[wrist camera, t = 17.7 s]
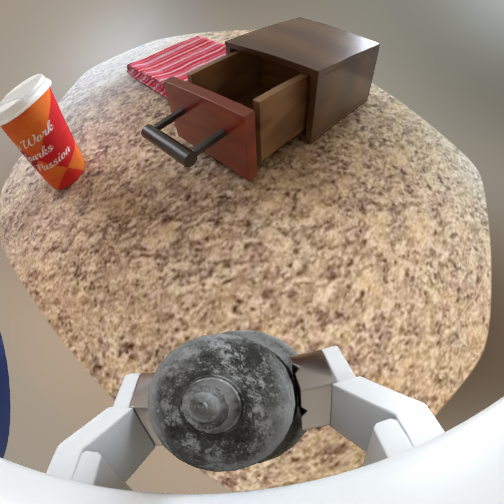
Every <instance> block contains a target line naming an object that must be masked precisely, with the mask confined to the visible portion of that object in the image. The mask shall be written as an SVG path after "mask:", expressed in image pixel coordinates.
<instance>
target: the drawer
mask: <svg viewBox="0 0 504 504" xmlns="http://www.w3.org/2000/svg"><path fill="white" fill-rule="evenodd" d="M187 77H188V82H187V81H184V80H181V79H179V78H176V77H173V76H171V77H169V78H167V79H166V80H164V81H163V83H164V87H165V90H166V94H167V98H168V101H169V105H170V108H171V112H172V114H170V115H169V116H167V117H166V118H164V119H162V120H161V121H159V122H158V123H156V124H155V125H154V126H152V125H146V126H144V127H143V129H142V132H141V134H142V136H143V137H144V138H145V139H147V140H148V141H150V142H151V143H153V144H154V145H155V146H157V147H158V148H160V149H161V150H163V151H164V152H165V153H167V154H168V155H170V156H171V157H172V158H174V159H175V160H177V161H178V162H179V163H181V164H182V165H184V166H185V167H191V166H193V165H194V164H195V163H196V161H197V156H198V155H200V154H201V153H202V152H205V153H207V154H209V155H210V156H212V157H213V158H215V159H216V160H218V161H219V162H221V163H222V164H224V165H226V166H227V167H229V168H230V169H232V170H233V171H235V172H236V173H238V174H239V175H241V176H242V177H244V178H245V179H247V180H248V181H250V180H252V179H253V178H254V177H255V176H256V175H257V160H259V161H261V162H262V161H263V160H265V159H266V158H267V157H268V156H270V155H271V154H272V153H274V152H275V151H276V150H278V149H279V148H280V147H281V146H283V145H284V144H285V143H287V142H288V141H289V140H291V139H292V138H293V137H295V136H296V135H297V134H299V133H300V132H301V131H303V130H304V129H306V124H307V115H308V105H309V95H310V84H311V75H309V74H306V73H304V72H301V71H298V70H296V69H293V68H291V67H288V66H285V65H282V64H280V63H277V62H274V61H271V60H268V59H265V58H262V57H259V56H255V55H252V54H249V53H245V52H242V51H238V50H236V51H234V52H231V53H229V54H227V55H224V56H222V57H220V58H218V59H215V60H213V61H211V62H209V63H207V64H205V65H203V66H201V67H199V68H197V69H195V70H193V71H191V72H189V73H187ZM173 121H174V122H175V126H176V129H177V133H178V136H180V137H181V138H183V139H185V140H186V141H188V142H189V143H191V144H193V145H194V146H195V147H194V148H192V150H190V149H189V148H187V147H186V146H184V145H182V144H181V143H179V142H178V141H176V140H175V139H173V138H171V137H170V136H168V135H167V134H165V133H164V132H162V131H160V130H161V129H162V128H164V127H165V126H167V125H168V124H170V123H172V122H173Z"/></svg>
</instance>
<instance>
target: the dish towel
mask: <svg viewBox="0 0 504 504" xmlns="http://www.w3.org/2000/svg"><path fill="white" fill-rule="evenodd" d="M224 55H226V47H225V44H222V43H219V42H215V41H213V40H209V39H207V38H204V37H200V36H196V37H193V38H191V39H189V40H186V41H183V42H181V43H178V44H176V45H173V46H171V47H169V48H166V49H164V50H162V51H160V52H158V53H156V54H153V55H151V56H149V57H147V58H145V59H142V60H140V61H137V62H133V63H130V64H128V65H127V69H128V70H127V72H128V73H129V74H130V75H132V76H133V77H135V79H138V80H139V81H140V82H142V83H143V84H145V85H147V86H149V87H150V88H152V89H153V90H155V91H157V92H158V93H160V94H161V95H163V96H164V97H166V98H167V94H166V90H165V87H164V83H163V81H164V80H166V79H167V78H169V77H171V76H173V77H176V78H179V79H181V80H184V81H187V82H188V77H187V73H189V72H191V71H193V70H195V69H197V68H199V67H201V66H203V65H205V64H207V63H209V62H211V61H213V60H215V59H218V58H220V57H222V56H224Z"/></svg>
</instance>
